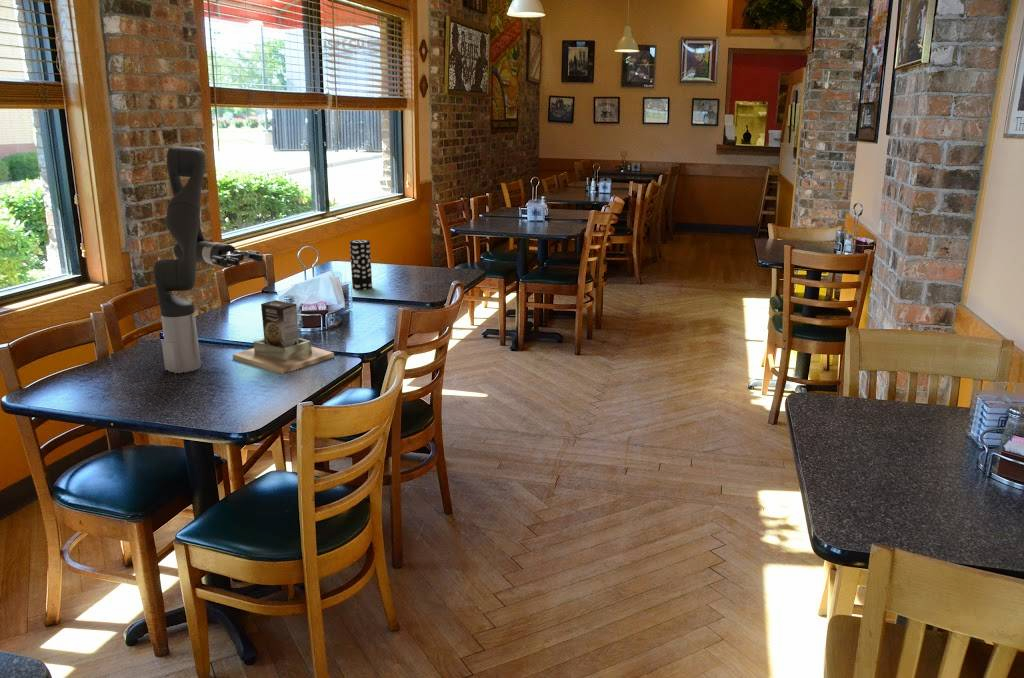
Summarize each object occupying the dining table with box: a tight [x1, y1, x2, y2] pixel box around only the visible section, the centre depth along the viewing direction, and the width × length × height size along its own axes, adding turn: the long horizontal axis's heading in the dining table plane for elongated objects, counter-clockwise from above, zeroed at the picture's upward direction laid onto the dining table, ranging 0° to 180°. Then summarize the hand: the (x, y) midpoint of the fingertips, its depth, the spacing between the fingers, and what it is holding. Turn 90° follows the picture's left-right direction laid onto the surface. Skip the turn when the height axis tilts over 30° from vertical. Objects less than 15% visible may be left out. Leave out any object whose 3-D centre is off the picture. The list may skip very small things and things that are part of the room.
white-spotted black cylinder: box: [349, 239, 373, 291], centre depth 334 cm, size 8×8×20 cm
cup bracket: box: [232, 337, 335, 375], centre depth 247 cm, size 20×24×6 cm
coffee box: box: [260, 299, 300, 348], centre depth 245 cm, size 9×6×16 cm
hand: (250, 260), depth 248 cm, fingers open, 8 cm apart
